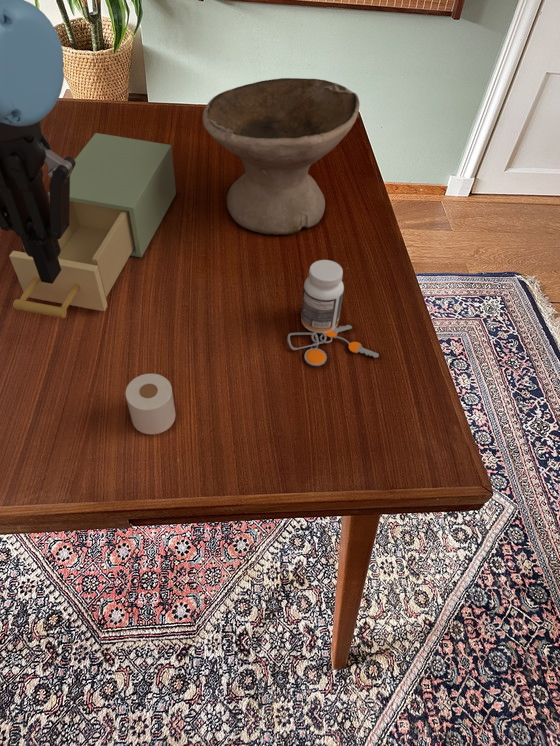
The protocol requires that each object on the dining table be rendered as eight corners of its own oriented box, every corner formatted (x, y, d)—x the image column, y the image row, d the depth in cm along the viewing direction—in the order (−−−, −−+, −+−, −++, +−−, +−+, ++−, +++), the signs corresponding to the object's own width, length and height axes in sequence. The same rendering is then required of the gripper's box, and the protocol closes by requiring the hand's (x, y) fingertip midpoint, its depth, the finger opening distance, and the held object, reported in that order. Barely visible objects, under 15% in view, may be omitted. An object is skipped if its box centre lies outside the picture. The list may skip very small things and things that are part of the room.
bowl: (295, 154, 116) (304, 49, 101) (373, 221, 104) (397, 113, 88) (181, 188, 107) (171, 78, 91) (251, 267, 94) (254, 155, 78)
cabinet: (141, 257, 94) (133, 207, 86) (62, 243, 95) (47, 193, 88) (176, 193, 106) (171, 144, 98) (105, 181, 107) (95, 132, 99)
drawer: (87, 341, 81) (75, 302, 75) (4, 326, 82) (-14, 285, 76) (144, 238, 96) (138, 198, 90) (74, 226, 97) (63, 185, 90)
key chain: (293, 368, 81) (293, 364, 80) (284, 330, 85) (285, 326, 85) (380, 360, 83) (381, 357, 82) (367, 324, 87) (368, 320, 87)
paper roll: (124, 427, 73) (117, 402, 69) (143, 394, 77) (137, 368, 72) (164, 439, 73) (160, 414, 68) (182, 405, 76) (179, 379, 72)
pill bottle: (315, 304, 90) (321, 251, 82) (345, 321, 87) (354, 268, 80) (293, 323, 87) (297, 270, 79) (323, 341, 84) (330, 288, 77)
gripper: (71, 79, 56) (111, 265, 75) (-55, 60, 57) (16, 249, 75) (37, 115, 52) (89, 304, 70) (-99, 94, 52) (-13, 287, 71)
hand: (51, 275), depth 73 cm, fingers closed
